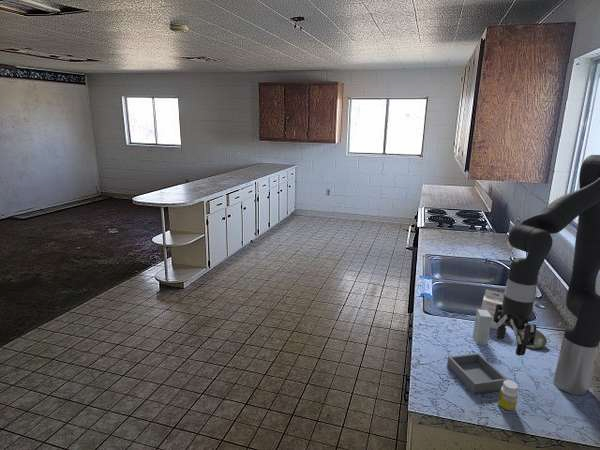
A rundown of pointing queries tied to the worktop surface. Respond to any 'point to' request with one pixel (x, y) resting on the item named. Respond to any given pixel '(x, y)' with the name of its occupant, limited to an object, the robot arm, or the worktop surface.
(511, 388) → the supplement bottle
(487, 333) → the skincare box
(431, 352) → the worktop surface
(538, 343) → the lid
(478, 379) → the tray
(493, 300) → the ink cartridge box
